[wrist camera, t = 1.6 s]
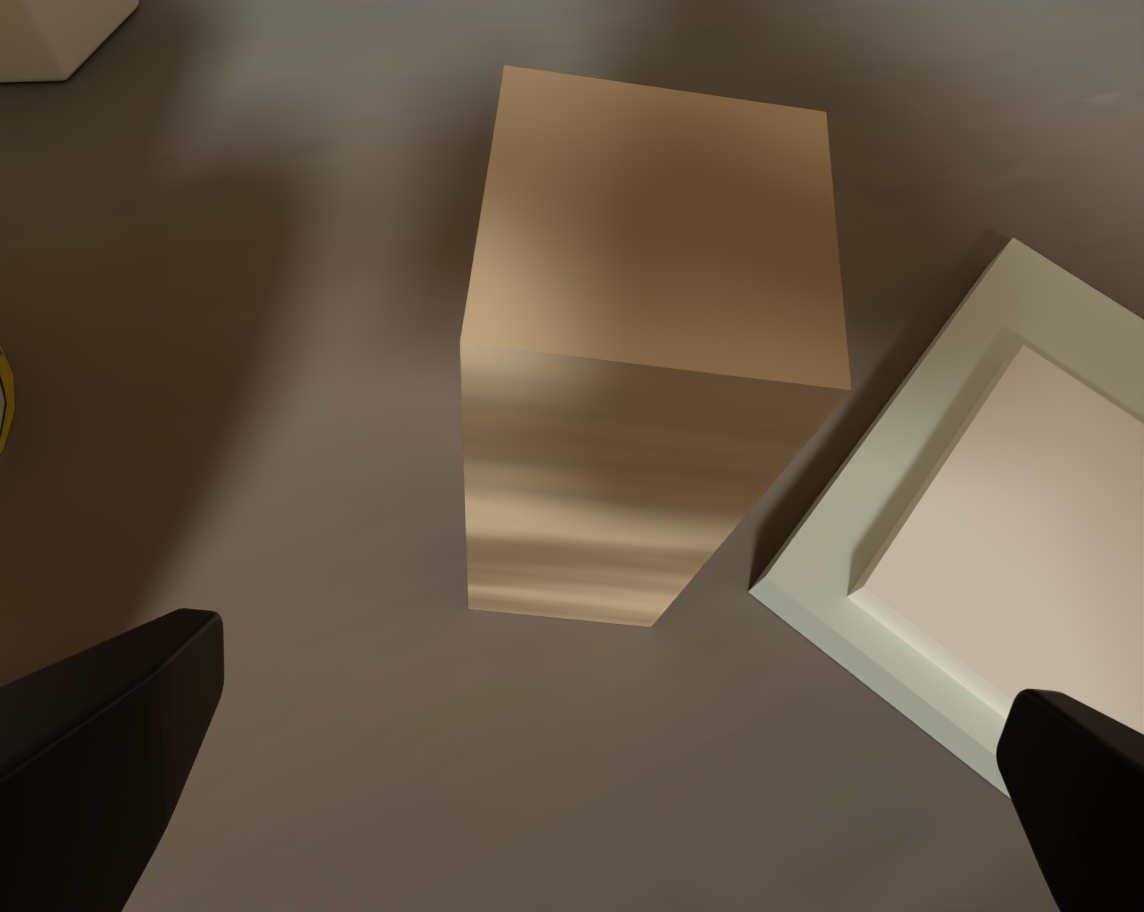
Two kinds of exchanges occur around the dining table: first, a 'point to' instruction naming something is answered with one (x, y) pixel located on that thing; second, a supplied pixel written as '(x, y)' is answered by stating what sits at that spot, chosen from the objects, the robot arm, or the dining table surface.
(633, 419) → the pillar block
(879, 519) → the board
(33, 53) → the jar
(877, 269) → the dining table surface
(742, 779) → the dining table surface
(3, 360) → the beverage can
